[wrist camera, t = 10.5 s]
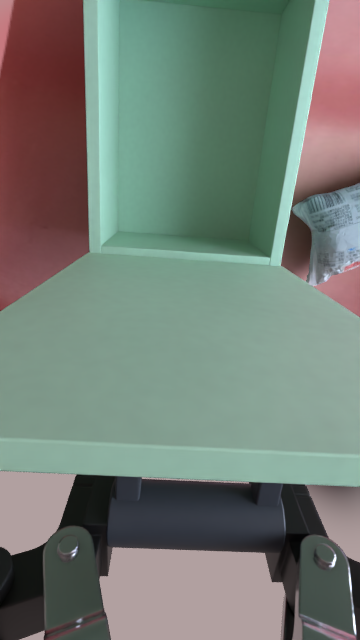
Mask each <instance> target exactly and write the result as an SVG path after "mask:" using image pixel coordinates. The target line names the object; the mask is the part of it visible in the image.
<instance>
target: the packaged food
mask: <svg viewBox="0 0 360 640" xmlns="http://www.w3.org/2000/svg"><path fill="white" fill-rule="evenodd" d="M292 210H293V213H294V214H295V215H296V216H298V217H299V218H300V219H302V220H303V221H304V222H305V223H306V224H307V225H308V227H309V228H310V230H311V234H312V248H311V254H310V264H309V274H308V275H307V280H306V282H307V283H308V284H310V285H311V286H314V285H318V284H321V283H323V282H326V281H327V280H328V279H329V277H331V276H332V275H336V274H339V273H343V272H345V271H348V270H351V269H353V268H355V267H357V266H359V265H360V183H357V184H356V185H354V186H350V187H346V188H343V189H340V190H336V191H334V192H330V193H324V194H316V195H312V196H309V197H307V198H306V199H304V200H302V201H301V202H299V203H298V204H297V205H295V206H294V207H293V208H292Z"/></svg>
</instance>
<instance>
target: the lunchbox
mask: <svg viewBox="0 0 360 640" xmlns="http://www.w3.org/2000/svg"><path fill="white" fill-rule="evenodd" d="M328 4H329V0H83V22H84V62H85V101H86V141H87V180H88V220H89V253H100V254H115V255H129V256H143V257H158V258H172V259H186V260H200V261H215V262H229V263H243V264H258V265H272V266H280V265H281V259H282V254H283V248H284V243H285V237H286V232H287V227H288V221H289V216H290V210H291V205H292V200H293V194H294V189H295V183H296V178H297V172H298V167H299V162H300V156H301V151H302V145H303V140H304V134H305V129H306V124H307V118H308V113H309V107H310V102H311V97H312V91H313V86H314V80H315V75H316V69H317V64H318V59H319V53H320V48H321V42H322V37H323V32H324V26H325V21H326V15H327V10H328Z"/></svg>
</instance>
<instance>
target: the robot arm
mask: <svg viewBox="0 0 360 640" xmlns="http://www.w3.org/2000/svg"><path fill="white" fill-rule="evenodd" d="M114 480H115V476H103V475H81V474H77V475H76V477H75V480H74V483H73V486H72V489H71V492H70V495H69V498H68V501H67V505H66V507H65V511H64V513H63V517H62V520H61V523H60V525H59V528H58V529H57V531H56V532H55V533H54V534H53V535H52V536H51V537H50V538H49V540H48V541H47V542H46V543H44V544H43V545H41V546H39V547H37V548H35V549H32V550H29V551H26V552H22V553H19V554H15V555H12V556H11V555H10V553H9V552H8V551H7V550H5V549H4V548H2V547H0V640H19V639H22V638H25V637H28V636H30V635H33V634H36V633H38V632H41V631H44V630H45V635H44V640H111V638H110V632H109V625H108V620H107V616H106V613H105V612H104V608H103V601H102V595H101V589H100V583H99V578H100V576H108V572H109V565H110V559H111V554H112V548H113V547H108V546H107V543H106V529H107V515H108V507H109V500H110V494H111V489H112V485H113V482H114ZM251 483H252V482H249V484H251ZM280 496H281V500H282V503H283V508H284V514H285V526H286V530H285V543H284V547H283V549H282V551H281V552H279V553H265V555H266V559H267V563H268V567H269V572H270V575H271V579H272V582H283V586H284V590H285V593H286V594H285V597H284V601H283V615H282V629H281V640H360V563H359V562H357V561H354V560H352V559H350V558H348V557H347V556H346V555H345V553H344V552H343V550H342V549H341V548H340V547H339V546H338V545H337V544H336V543H335V542H333V541H332V540H330V539H329V538H328V536H327V533H326V531H325V529H324V526H323V524H322V522H321V519H320V517H319V515H318V512H317V510H316V508H315V505H314V503H313V501H312V498H311V497H310V494H309V491H308V489H307V487H306V486H305V484H284V483H283V486H282V490H281V495H280Z"/></svg>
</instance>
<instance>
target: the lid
mask: <svg viewBox="0 0 360 640" xmlns="http://www.w3.org/2000/svg"><path fill="white" fill-rule="evenodd" d="M0 471H15V472H36V473H59V474H81V475H103V476H115V480H114V482H113V485H112V489H111V494H110V500H109V507H108V515H107V529H106V543H107V546H108V547H122V548H149V549H177V550H205V551H206V550H207V551H232V552H261V553H279V552H281V551H282V549H283V547H284V543H285V530H286V526H285V514H284V508H283V503H282V500H281V496H280V495H281V490H282V486H283V483H284V484H307V485H330V486H352V487H360V317H358V316H357V315H355V314H354V313H352V312H351V311H349V310H348V309H346V308H345V307H343V306H342V305H340V304H339V303H337V302H336V301H334V300H332V299H331V298H329V297H328V296H326V295H325V294H323V293H322V292H320V291H319V290H317V289H316V288H314V287H313V286H311V285H310V284H308V283H307V282H305V281H304V280H302V279H301V278H299V277H298V276H296V275H295V274H293V273H292V272H290V271H288V270H287V269H285V268H284V267H282V266H272V265H258V264H243V263H229V262H215V261H200V260H186V259H172V258H158V257H143V256H129V255H115V254H100V253H87V254H85V255H84V256H82V257H81V258H79V259H78V260H76V261H75V262H73V263H72V264H70V265H69V266H67V267H66V268H64V269H63V270H61V271H60V272H58V273H57V274H55V275H54V276H52V277H51V278H49V279H48V280H46V281H45V282H43V283H42V284H40V285H39V286H37V287H36V288H35V289H33V290H32V291H30V292H29V293H27V294H26V295H24V296H23V297H21V298H20V299H18V300H17V301H15V302H14V303H12V304H11V305H9V306H8V307H6V308H5V309H3V310H2V311H0ZM142 477H149V478H171V479H194V480H216V481H241V482H252V483H251V484H244V483H221V482H199V481H176V480H152V479H142Z"/></svg>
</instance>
